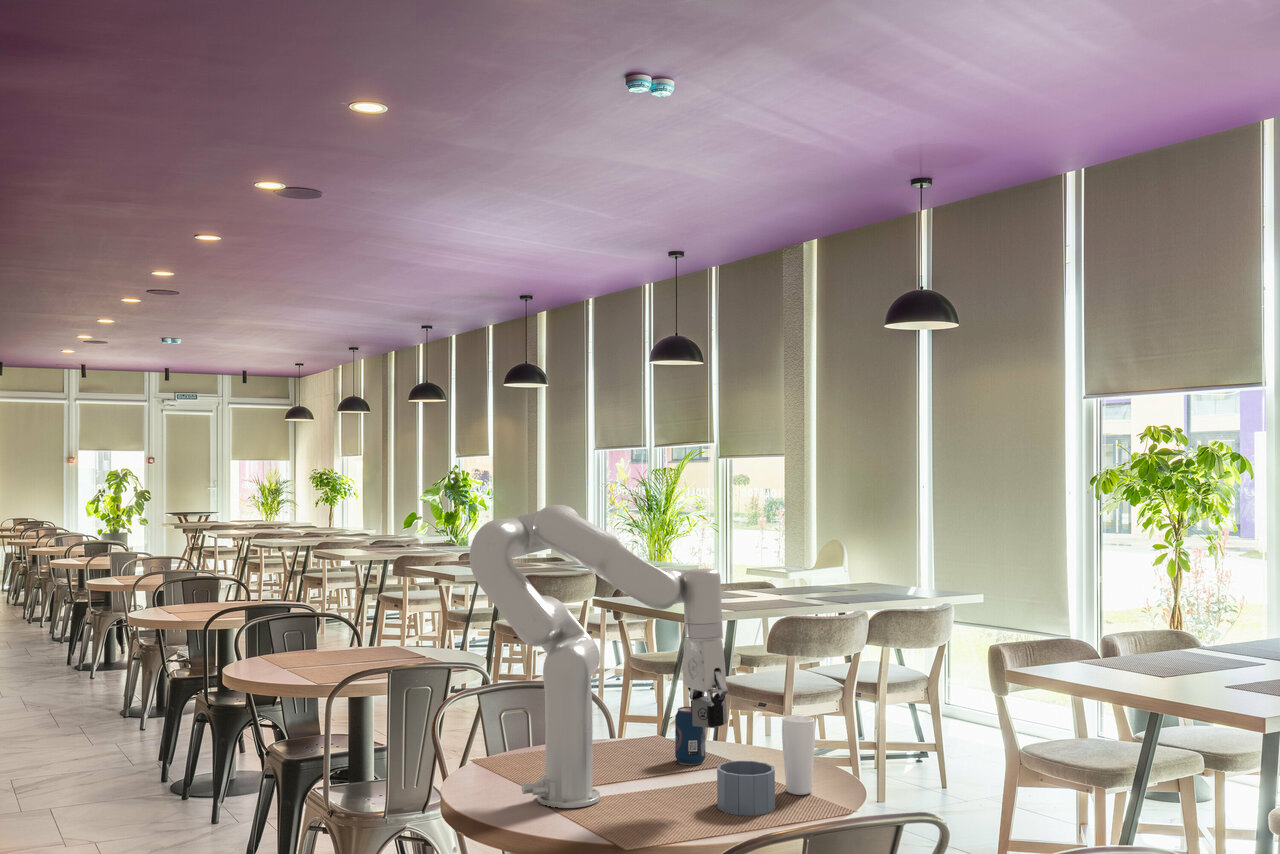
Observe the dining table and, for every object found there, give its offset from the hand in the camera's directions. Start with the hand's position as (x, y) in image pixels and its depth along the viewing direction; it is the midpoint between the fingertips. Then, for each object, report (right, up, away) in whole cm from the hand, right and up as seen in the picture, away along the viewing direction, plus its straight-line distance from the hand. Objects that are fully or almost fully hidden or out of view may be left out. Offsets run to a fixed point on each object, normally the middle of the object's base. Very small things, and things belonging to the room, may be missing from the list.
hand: (707, 722), depth 209 cm
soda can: (-2, -19, +33) cm, 38 cm away
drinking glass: (+19, -17, +8) cm, 27 cm away
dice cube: (+1, -1, +1) cm, 1 cm away
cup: (+8, -16, -2) cm, 18 cm away
